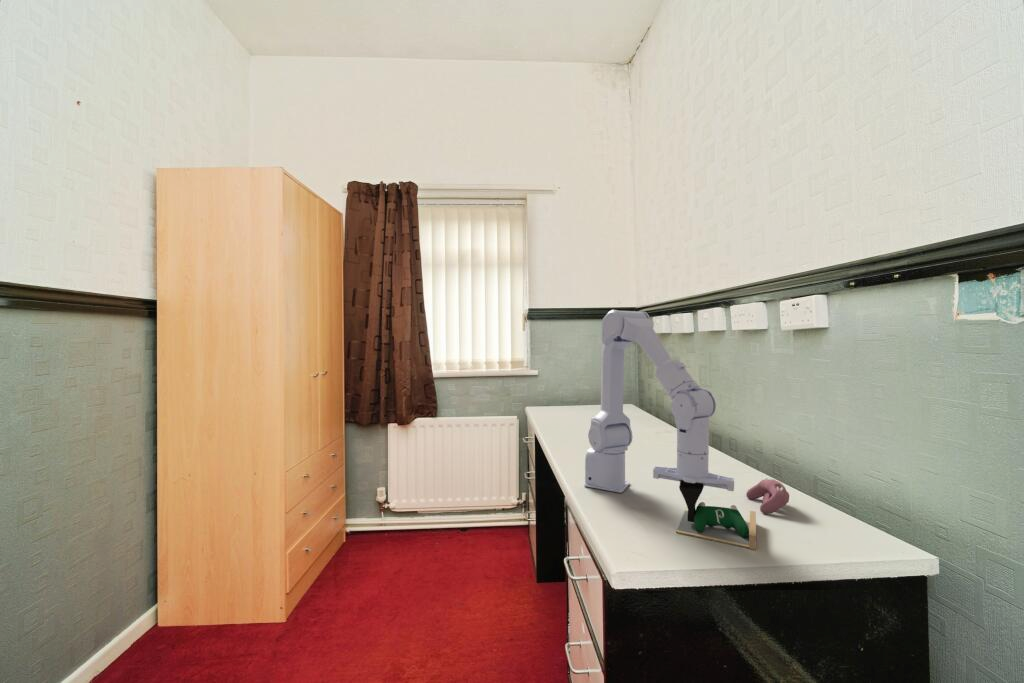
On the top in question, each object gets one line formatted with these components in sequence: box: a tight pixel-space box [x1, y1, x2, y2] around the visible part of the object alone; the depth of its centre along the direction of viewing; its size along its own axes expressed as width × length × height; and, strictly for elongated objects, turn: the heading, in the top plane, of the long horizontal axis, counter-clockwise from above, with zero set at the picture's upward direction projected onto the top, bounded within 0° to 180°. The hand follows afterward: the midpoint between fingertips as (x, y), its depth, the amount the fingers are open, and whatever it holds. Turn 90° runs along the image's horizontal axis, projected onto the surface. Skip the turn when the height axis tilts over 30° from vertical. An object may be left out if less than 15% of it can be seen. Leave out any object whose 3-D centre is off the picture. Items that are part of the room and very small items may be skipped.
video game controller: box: [745, 477, 790, 515], centre depth 92 cm, size 10×5×7 cm, turn 169°
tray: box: [676, 509, 757, 550], centre depth 81 cm, size 13×12×2 cm
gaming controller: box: [694, 501, 749, 538], centre depth 80 cm, size 9×4×6 cm
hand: (691, 520), depth 83 cm, fingers closed, pressing on gaming controller
